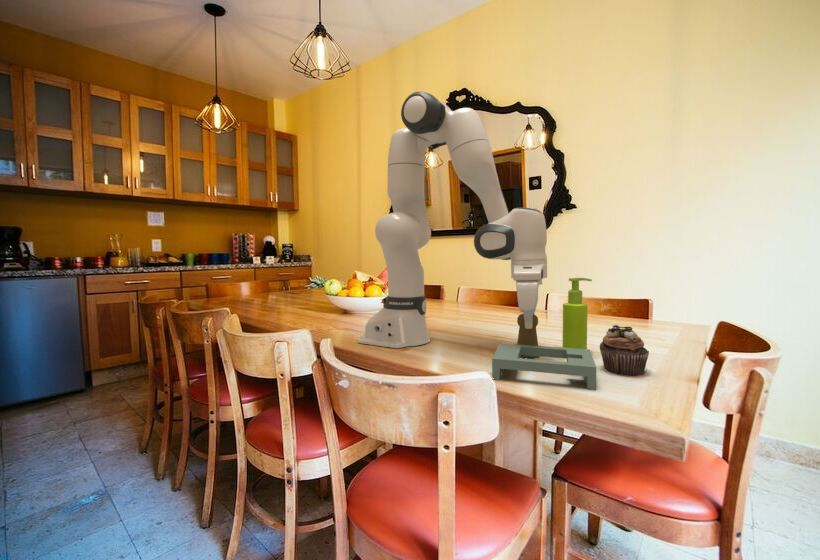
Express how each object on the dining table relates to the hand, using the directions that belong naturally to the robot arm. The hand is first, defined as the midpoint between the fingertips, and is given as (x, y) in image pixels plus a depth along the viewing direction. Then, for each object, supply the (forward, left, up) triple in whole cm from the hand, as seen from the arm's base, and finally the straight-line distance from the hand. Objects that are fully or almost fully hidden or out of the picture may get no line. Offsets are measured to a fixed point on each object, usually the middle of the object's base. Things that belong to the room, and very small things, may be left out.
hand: (529, 324), depth 97 cm
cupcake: (+20, -6, -9) cm, 23 cm away
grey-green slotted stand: (+3, -14, -8) cm, 17 cm away
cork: (-1, 0, -9) cm, 8 cm away
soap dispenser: (+11, +6, -8) cm, 15 cm away
